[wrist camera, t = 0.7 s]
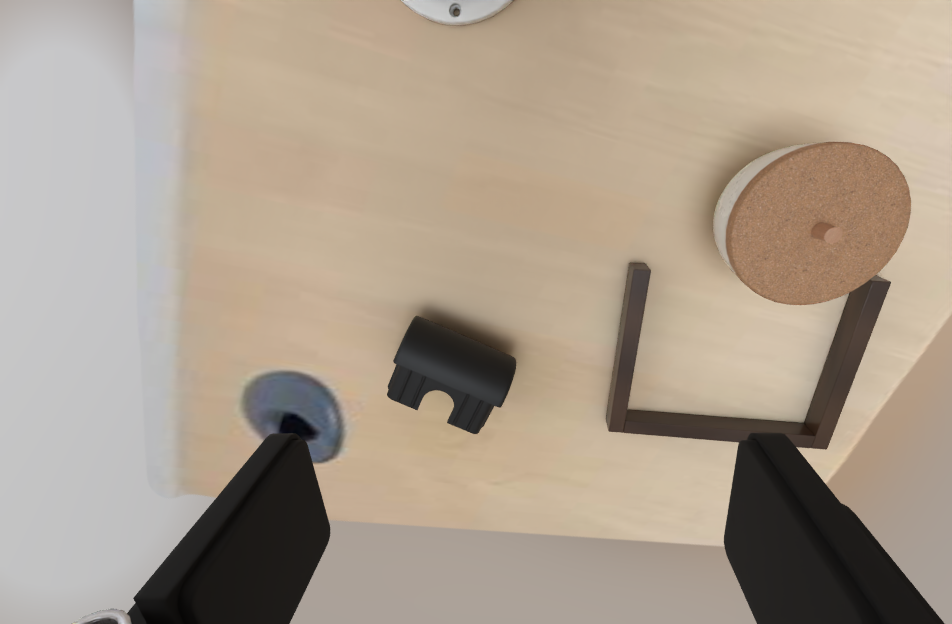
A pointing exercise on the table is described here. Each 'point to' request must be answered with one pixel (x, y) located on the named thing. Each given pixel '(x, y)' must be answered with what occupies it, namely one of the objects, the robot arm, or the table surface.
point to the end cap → (451, 373)
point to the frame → (806, 435)
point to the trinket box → (812, 220)
